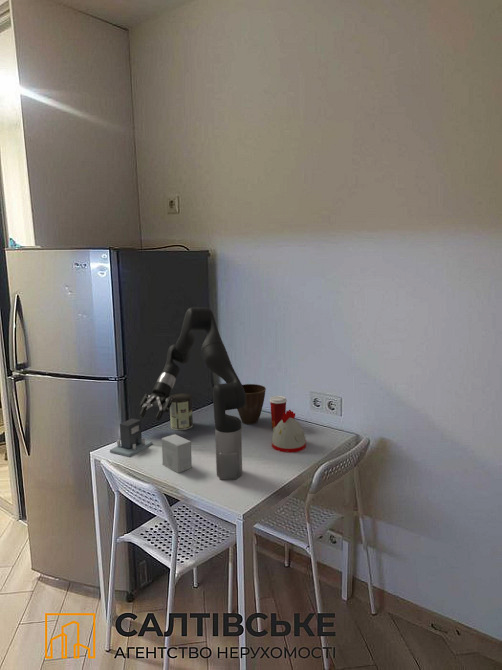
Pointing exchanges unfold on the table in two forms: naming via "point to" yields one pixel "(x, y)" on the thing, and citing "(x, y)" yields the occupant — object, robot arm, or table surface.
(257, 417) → the plant pot
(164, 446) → the skincare box
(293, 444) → the cream and red dome
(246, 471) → the table surface
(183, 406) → the coffee can
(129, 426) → the block
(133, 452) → the grey peg board
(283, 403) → the paper cup
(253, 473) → the table surface
